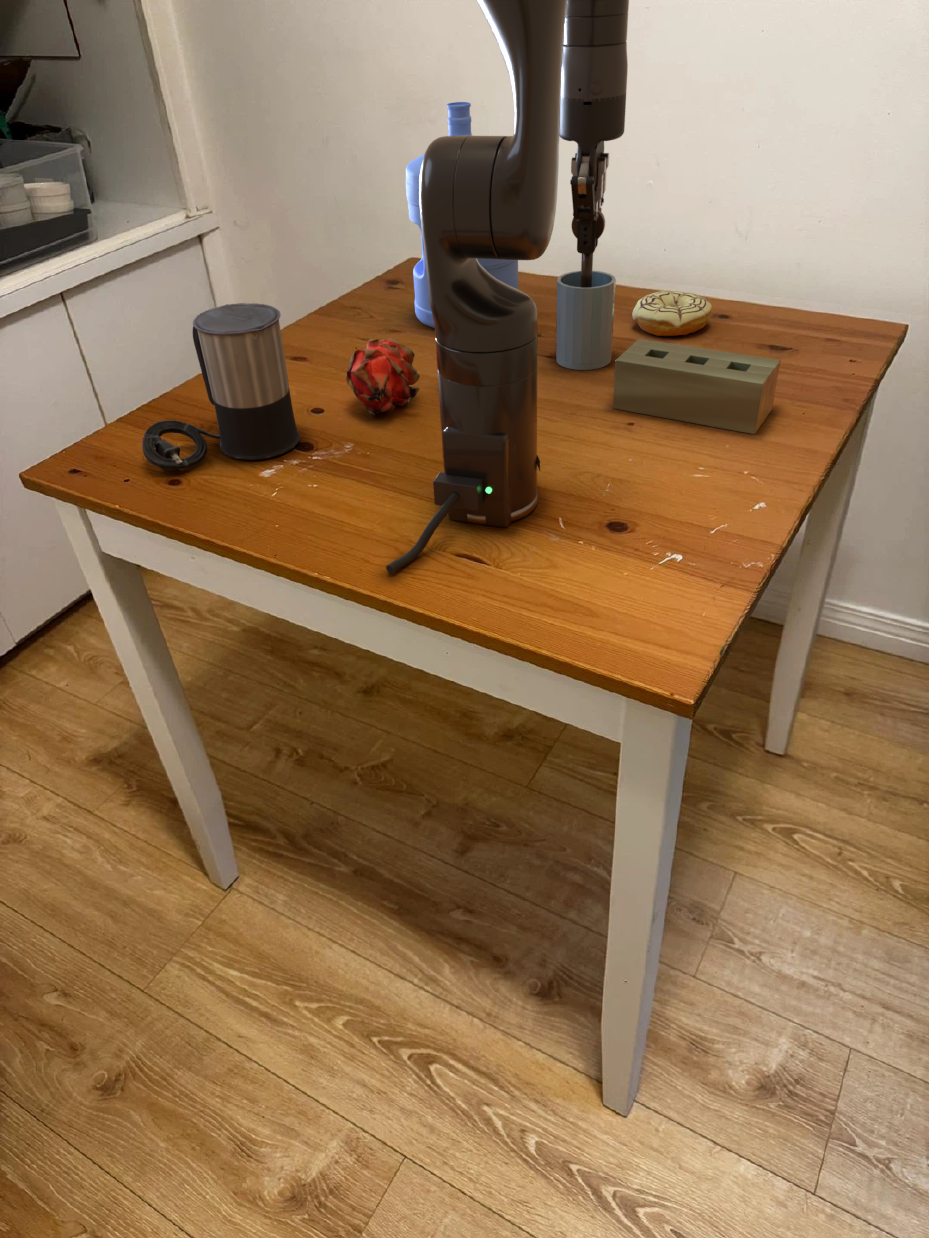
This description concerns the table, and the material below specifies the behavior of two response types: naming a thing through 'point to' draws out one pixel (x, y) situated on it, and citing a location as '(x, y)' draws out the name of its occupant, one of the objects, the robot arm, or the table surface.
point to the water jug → (497, 268)
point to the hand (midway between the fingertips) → (587, 250)
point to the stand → (696, 385)
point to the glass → (585, 321)
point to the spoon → (588, 258)
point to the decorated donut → (672, 313)
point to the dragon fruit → (382, 375)
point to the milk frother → (236, 389)
